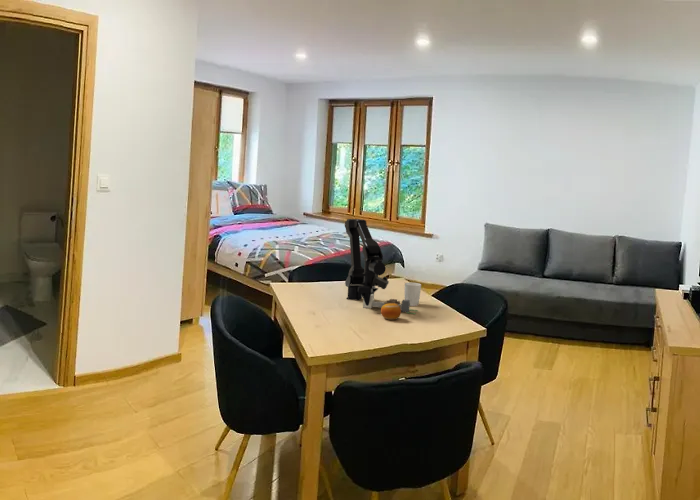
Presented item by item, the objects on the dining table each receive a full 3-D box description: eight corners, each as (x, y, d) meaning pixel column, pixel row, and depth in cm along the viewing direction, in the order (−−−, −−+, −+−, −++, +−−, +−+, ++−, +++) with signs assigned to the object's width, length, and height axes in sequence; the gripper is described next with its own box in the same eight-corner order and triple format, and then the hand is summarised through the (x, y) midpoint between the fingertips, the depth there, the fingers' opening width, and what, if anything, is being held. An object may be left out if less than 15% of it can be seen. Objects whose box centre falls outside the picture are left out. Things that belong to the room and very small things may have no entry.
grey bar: (362, 307, 285) (363, 294, 284) (365, 305, 289) (365, 293, 288) (401, 311, 280) (401, 298, 279) (402, 310, 284) (403, 297, 283)
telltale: (401, 311, 281) (402, 300, 280) (402, 310, 283) (403, 299, 283) (407, 312, 280) (408, 301, 279) (409, 311, 283) (409, 300, 282)
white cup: (419, 306, 292) (420, 286, 291) (402, 305, 294) (403, 284, 292) (420, 303, 300) (421, 283, 299) (404, 301, 301) (405, 281, 300)
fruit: (387, 307, 273) (389, 294, 267) (403, 316, 269) (405, 304, 264) (376, 318, 268) (378, 305, 262) (392, 328, 264) (394, 315, 259)
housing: (383, 310, 281) (384, 301, 280) (387, 307, 287) (387, 298, 287) (415, 314, 277) (415, 304, 276) (418, 311, 283) (418, 301, 283)
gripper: (382, 276, 273) (380, 310, 275) (392, 270, 291) (390, 302, 293) (358, 273, 276) (356, 307, 278) (369, 267, 294) (367, 299, 296)
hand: (368, 304), depth 286 cm, fingers closed on grey bar, 4 cm apart
